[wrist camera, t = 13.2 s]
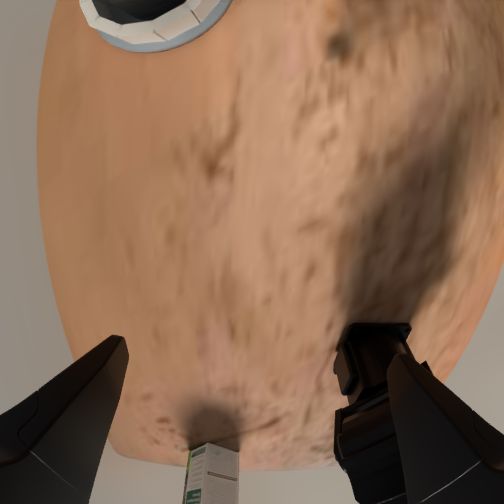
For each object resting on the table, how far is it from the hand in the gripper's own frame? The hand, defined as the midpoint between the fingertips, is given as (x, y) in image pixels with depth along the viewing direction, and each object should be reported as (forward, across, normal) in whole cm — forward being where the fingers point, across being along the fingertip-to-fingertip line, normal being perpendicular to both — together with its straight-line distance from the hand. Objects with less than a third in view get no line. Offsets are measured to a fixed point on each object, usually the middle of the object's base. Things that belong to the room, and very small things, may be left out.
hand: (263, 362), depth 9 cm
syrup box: (+13, +3, +37) cm, 39 cm away
